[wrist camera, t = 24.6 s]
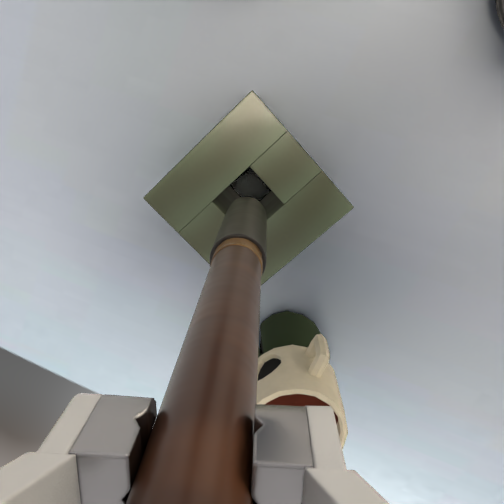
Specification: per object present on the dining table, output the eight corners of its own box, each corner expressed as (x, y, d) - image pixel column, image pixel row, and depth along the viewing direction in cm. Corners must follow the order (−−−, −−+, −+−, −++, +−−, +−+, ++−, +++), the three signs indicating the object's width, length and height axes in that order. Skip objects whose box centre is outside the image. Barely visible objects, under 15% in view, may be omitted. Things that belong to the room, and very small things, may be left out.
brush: (261, 192, 25) (236, 578, 5) (270, 231, 26) (282, 718, 5) (221, 201, 26) (25, 605, 5) (231, 239, 26) (96, 735, 6)
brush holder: (334, 184, 38) (354, 207, 29) (249, 258, 40) (244, 299, 32) (255, 94, 36) (252, 90, 27) (170, 177, 38) (142, 198, 29)
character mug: (276, 275, 41) (280, 349, 28) (346, 303, 41) (380, 387, 29) (233, 369, 44) (219, 472, 31) (298, 393, 44) (310, 504, 32)
